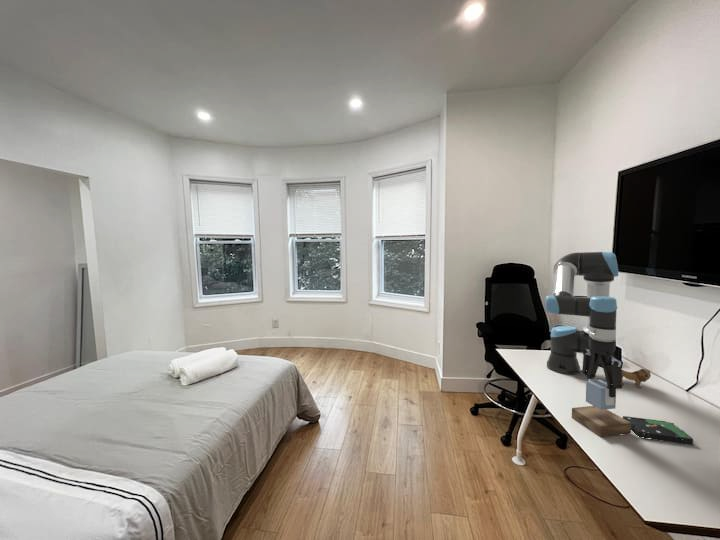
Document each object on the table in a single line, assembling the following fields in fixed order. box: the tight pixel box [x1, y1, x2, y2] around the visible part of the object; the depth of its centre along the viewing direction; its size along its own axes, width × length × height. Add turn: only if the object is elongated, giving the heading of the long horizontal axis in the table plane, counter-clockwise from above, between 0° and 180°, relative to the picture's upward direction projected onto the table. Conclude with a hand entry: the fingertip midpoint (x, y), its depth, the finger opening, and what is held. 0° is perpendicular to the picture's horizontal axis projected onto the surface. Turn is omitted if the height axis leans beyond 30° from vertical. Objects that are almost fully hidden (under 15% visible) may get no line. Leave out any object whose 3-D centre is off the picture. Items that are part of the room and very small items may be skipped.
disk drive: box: [622, 415, 694, 446], centre depth 103 cm, size 10×3×15 cm
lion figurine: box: [622, 368, 652, 389], centre depth 138 cm, size 15×5×9 cm, turn 57°
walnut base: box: [571, 405, 632, 438], centre depth 107 cm, size 12×12×4 cm
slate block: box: [585, 379, 617, 410], centre depth 107 cm, size 6×6×8 cm
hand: (600, 399), depth 107 cm, fingers closed on slate block, 6 cm apart
